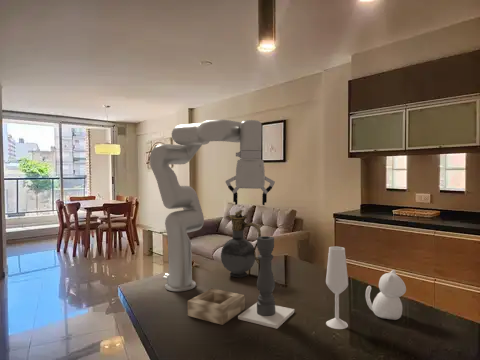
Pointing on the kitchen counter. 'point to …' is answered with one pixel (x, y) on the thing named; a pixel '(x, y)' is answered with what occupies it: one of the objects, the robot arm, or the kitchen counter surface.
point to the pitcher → (239, 248)
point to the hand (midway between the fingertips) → (249, 204)
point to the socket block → (216, 306)
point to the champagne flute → (337, 281)
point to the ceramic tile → (269, 321)
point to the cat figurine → (388, 296)
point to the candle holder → (265, 277)
